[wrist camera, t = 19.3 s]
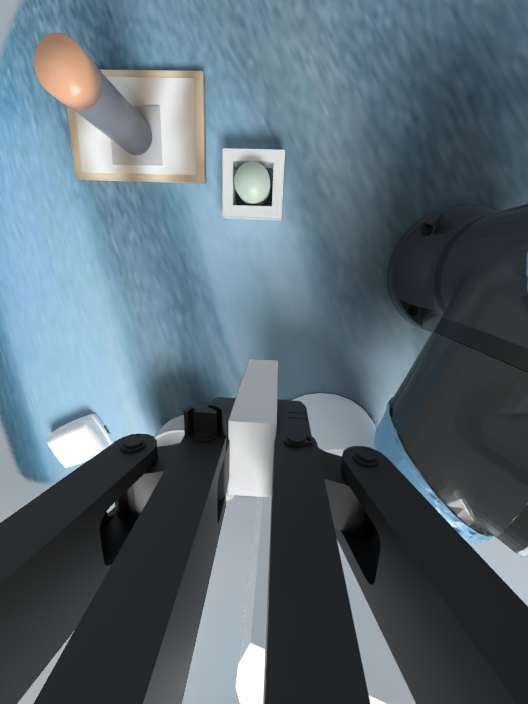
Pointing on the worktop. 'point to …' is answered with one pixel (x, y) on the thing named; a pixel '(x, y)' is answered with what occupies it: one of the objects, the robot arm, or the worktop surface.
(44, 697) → the robot arm
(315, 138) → the worktop surface
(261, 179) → the button
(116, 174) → the wooden picture frame
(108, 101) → the marker
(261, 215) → the button housing
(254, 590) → the cylinder
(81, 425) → the soap
